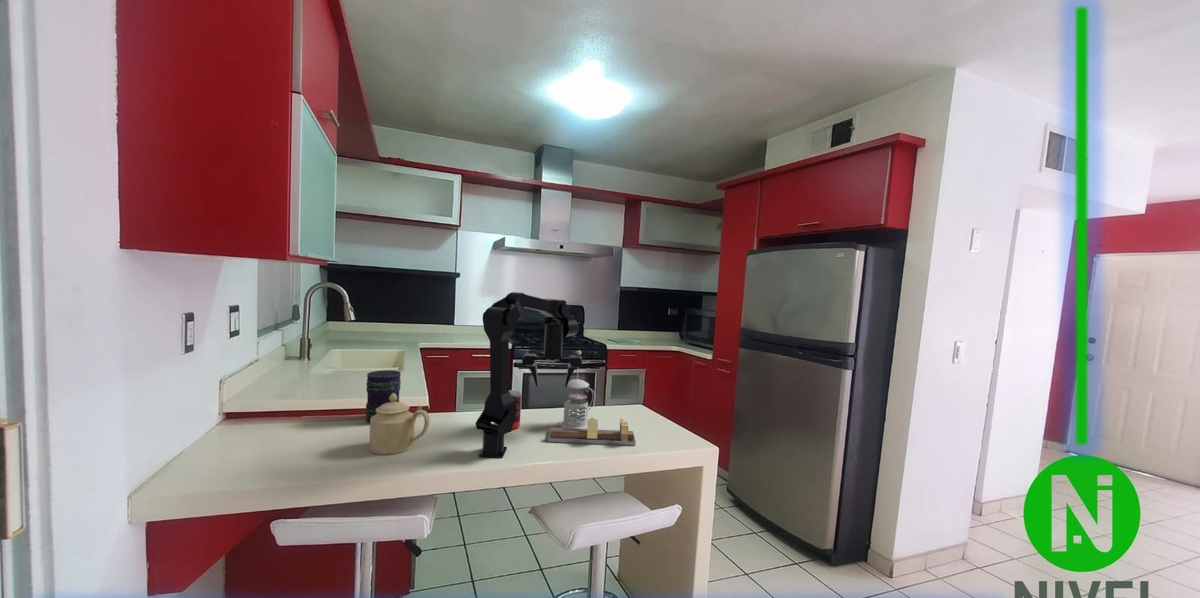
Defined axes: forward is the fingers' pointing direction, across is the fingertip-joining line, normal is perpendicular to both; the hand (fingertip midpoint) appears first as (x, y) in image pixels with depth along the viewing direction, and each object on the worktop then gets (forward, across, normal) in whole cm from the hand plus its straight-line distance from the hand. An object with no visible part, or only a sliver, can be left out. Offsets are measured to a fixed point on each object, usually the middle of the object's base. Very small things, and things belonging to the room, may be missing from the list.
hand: (551, 386), depth 142 cm
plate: (+14, -13, +8) cm, 21 cm away
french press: (+14, -9, -4) cm, 17 cm away
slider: (+12, -13, +9) cm, 20 cm away
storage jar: (+14, +54, -4) cm, 55 cm away
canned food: (+14, +13, 0) cm, 19 cm away
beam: (+12, -13, +9) cm, 20 cm away
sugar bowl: (+14, +40, +18) cm, 46 cm away
